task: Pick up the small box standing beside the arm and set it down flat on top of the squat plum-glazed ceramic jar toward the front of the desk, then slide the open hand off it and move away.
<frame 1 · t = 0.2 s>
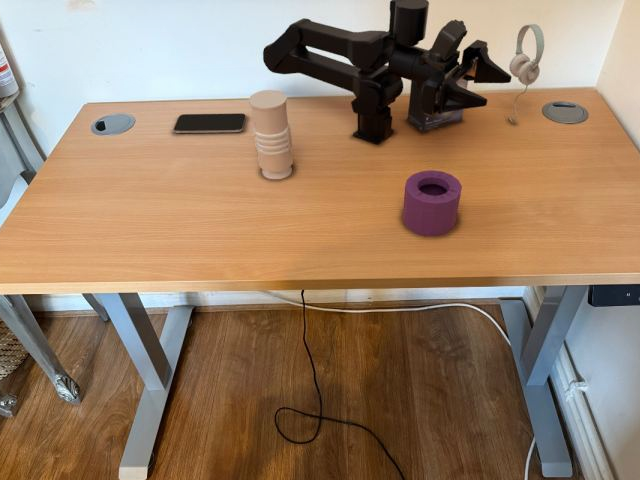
hand: (499, 90, 91), 17 cm above the table, tool horizontal, fingers open, 9 cm apart
small box: (434, 122, 117), on the table
smartphone: (210, 125, 118), on the table
jar: (429, 219, 94), on the table
headphones: (511, 123, 116), on the table
beige ribbed cylinder: (277, 171, 105), on the table
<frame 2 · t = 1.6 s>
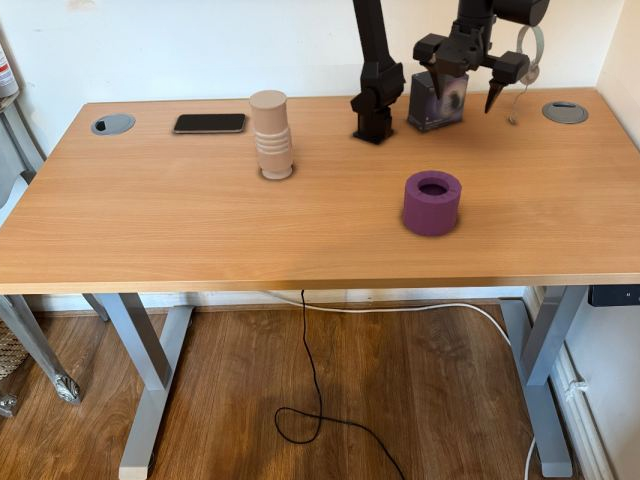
hand: (462, 105, 94), 13 cm above the table, tool pointing down, fingers open, 9 cm apart
nothing on the table moved.
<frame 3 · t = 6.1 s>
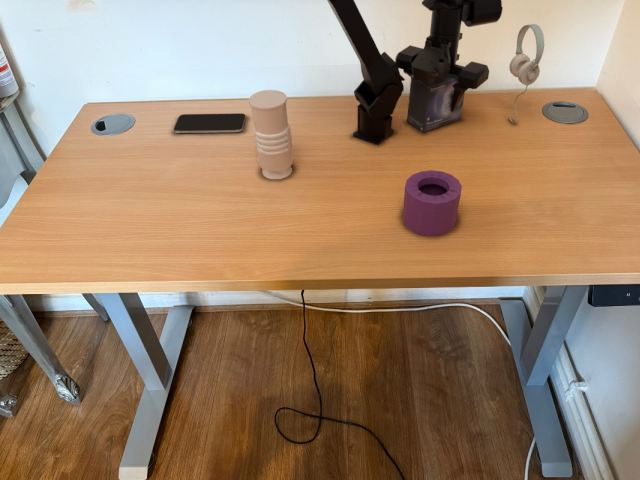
hand: (436, 105, 114), 4 cm above the table, tool pointing down, fingers closed on small box, 7 cm apart
small box: (433, 122, 117), on the table, touching gripper
everything else where it was.
when the fingers open (11 cm above the table, at t = 12.2 s): small box stays where it is, resting on jar.
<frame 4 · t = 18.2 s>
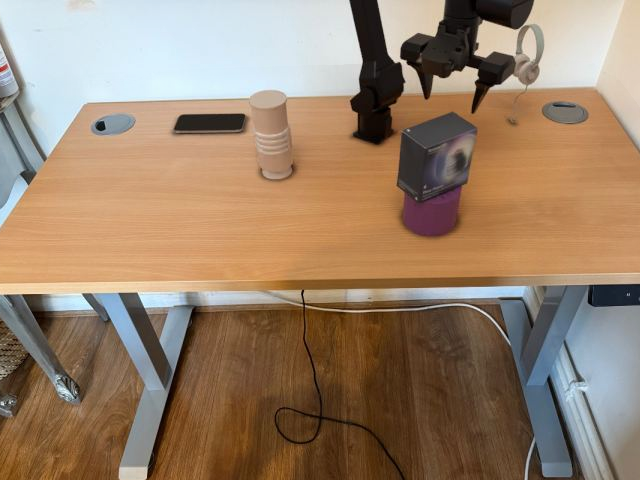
hand: (449, 105, 95), 13 cm above the table, tool pointing down, fingers open, 9 cm apart
small box: (432, 186, 89), point 7 cm above the table, touching jar
everything else where it was.
at the end: small box 0.2 cm off-centre on the jar, point 6.8 cm above the jar's base; small box tilted 0°; the gripper is holding nothing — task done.
